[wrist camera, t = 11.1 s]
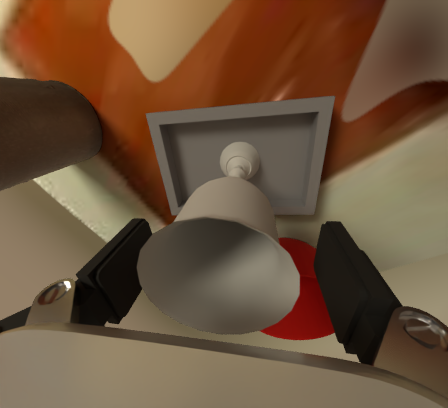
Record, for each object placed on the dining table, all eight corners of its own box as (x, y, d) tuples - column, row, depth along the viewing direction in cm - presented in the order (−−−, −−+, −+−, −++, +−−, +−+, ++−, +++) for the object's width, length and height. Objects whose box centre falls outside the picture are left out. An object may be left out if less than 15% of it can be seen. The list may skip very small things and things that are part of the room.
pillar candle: (47, 60, 21) (-267, 1, 9) (117, 127, 24) (-41, 160, 11) (24, 121, 26) (-211, 143, 13) (86, 173, 28) (-55, 235, 15)
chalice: (256, 194, 25) (261, 347, 10) (208, 180, 25) (136, 313, 10) (276, 140, 21) (339, 249, 6) (220, 124, 21) (136, 192, 6)
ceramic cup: (245, 195, 27) (242, 241, 18) (343, 242, 28) (383, 304, 20) (211, 253, 33) (196, 307, 24) (292, 288, 35) (306, 350, 26)
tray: (324, 96, 20) (334, 95, 17) (307, 203, 26) (314, 214, 23) (157, 112, 23) (145, 113, 20) (179, 204, 29) (171, 215, 26)
